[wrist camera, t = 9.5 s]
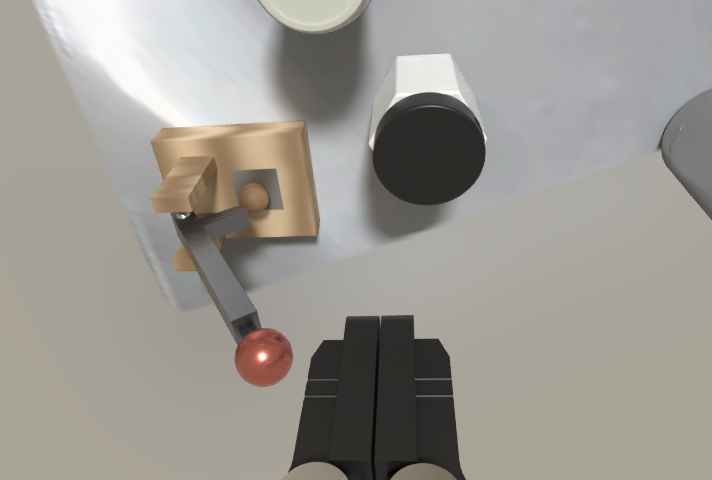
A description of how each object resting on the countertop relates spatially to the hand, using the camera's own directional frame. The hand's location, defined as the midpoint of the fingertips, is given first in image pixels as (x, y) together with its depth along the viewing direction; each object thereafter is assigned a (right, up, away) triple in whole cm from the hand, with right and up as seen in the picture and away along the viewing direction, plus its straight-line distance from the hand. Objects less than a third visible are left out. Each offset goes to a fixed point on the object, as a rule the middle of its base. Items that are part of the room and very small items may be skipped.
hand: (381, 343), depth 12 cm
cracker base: (-12, +9, +43) cm, 45 cm away
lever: (-15, +5, +37) cm, 40 cm away
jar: (+5, +15, +37) cm, 40 cm away
